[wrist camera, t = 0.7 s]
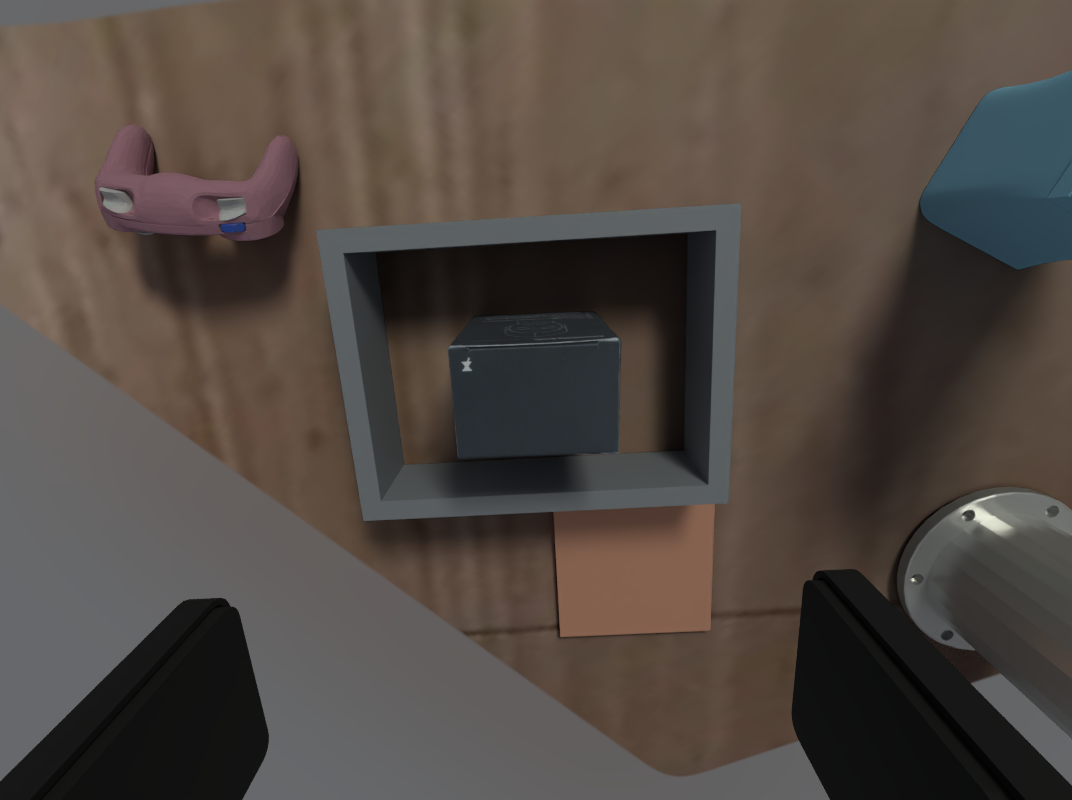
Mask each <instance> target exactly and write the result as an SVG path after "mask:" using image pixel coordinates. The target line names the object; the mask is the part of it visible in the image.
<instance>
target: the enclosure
mask: <svg viewBox="0 0 1072 800" xmlns="http://www.w3.org/2000/svg"><path fill="white" fill-rule="evenodd" d="M741 204H742V203H740V204H724V205H708V206H692V207H676V208H660V209H644V210H628V211H613V212H597V213H581V214H565V215H549V216H533V217H517V218H501V219H485V220H469V221H454V222H438V223H422V224H406V225H390V226H374V227H358V228H342V229H326V230H316V233H317V239H318V245H319V251H320V257H321V263H322V269H323V276H324V282H325V288H326V294H327V300H328V306H329V312H330V319H331V325H332V331H333V337H334V343H335V349H336V355H337V361H338V368H339V374H340V380H341V386H342V392H343V398H344V404H345V411H346V417H347V423H348V429H349V435H350V441H351V447H352V453H353V460H354V466H355V472H356V478H357V484H358V490H359V496H360V503H361V509H362V515H363V521H374V520H394V519H415V518H436V517H456V516H477V515H497V514H518V513H538V512H559V511H579V510H600V509H620V508H641V507H661V506H682V505H703V504H723V503H729V484H730V460H731V437H732V414H733V391H734V367H735V344H736V321H737V298H738V274H739V251H740V228H741ZM685 233H688V240H687V298H686V355H685V413H684V451H665V452H645V453H626V454H606V455H587V456H567V457H548V458H528V459H509V460H489V461H470V462H450V463H431V464H411V465H404V460H403V452H402V445H401V438H400V430H399V423H398V416H397V408H396V401H395V393H394V386H393V379H392V371H391V364H390V357H389V349H388V342H387V335H386V327H385V320H384V312H383V305H382V298H381V290H380V283H379V276H378V268H377V261H376V252H393V251H409V250H425V249H441V248H458V247H474V246H490V245H506V244H523V243H539V242H555V241H571V240H587V239H604V238H620V237H636V236H652V235H669V234H685Z"/></svg>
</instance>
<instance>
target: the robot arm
mask: <svg viewBox="0 0 1072 800" xmlns="http://www.w3.org/2000/svg"><path fill="white" fill-rule="evenodd" d="M897 591H898V595H899V599H900V603H901V605H902V607H903V609H904V610H905V612H906V614H907V616H908V617H909V618H910V619H911V620H912V621H913V622H914V623H915V624H916V625H917V626H918V628H920V629H921V630H922V631H923V632H924V633H925V634H926V635H928V636H929V637H930V638H932V639H934V640H935V641H937V642H939V643H941V644H944V645H947V646H950V647H954V648H957V649H964V650H973V651H974V650H976V651H977V652H978V653H979V654H980V655H982V656H983V657H984V658H985V659H986V660H987V661H988V662H989V663H990V664H991V665H992V666H993V667H995V668H996V669H997V670H998V671H999V672H1000V673H1001V674H1002V675H1003V676H1004V677H1005V678H1007V679H1008V680H1009V681H1010V682H1011V683H1012V684H1013V685H1014V686H1015V687H1016V688H1017V689H1018V690H1019V691H1021V692H1022V693H1023V694H1024V695H1025V696H1026V697H1027V698H1028V699H1029V700H1030V701H1031V702H1033V703H1034V704H1035V705H1036V706H1037V707H1038V708H1039V709H1040V710H1041V711H1042V712H1043V713H1044V714H1045V715H1047V716H1048V717H1049V718H1050V719H1051V720H1052V721H1053V722H1054V723H1055V724H1056V725H1057V726H1059V727H1060V728H1061V729H1062V730H1063V731H1064V732H1065V733H1066V734H1067V735H1068V736H1069V737H1070V738H1072V510H1071V509H1070V508H1068V507H1067V506H1066V505H1065V504H1063V503H1061V502H1059V501H1057V500H1055V499H1053V498H1051V497H1049V496H1047V495H1046V494H1043V493H1040V492H1037V491H1034V490H1031V489H1025V488H1018V487H998V488H990V489H986V490H981V491H976V492H974V493H971V494H968V495H966V496H963V497H961V498H958V499H956V500H955V501H953V502H951V503H949V504H948V505H946V506H944V507H942V508H941V509H940V510H938V511H937V512H936V513H935V514H933V515H932V516H931V517H929V518H928V519H927V520H926V521H925V522H924V523H923V524H922V525H921V527H920V528H919V529H918V530H917V531H916V532H915V533H914V535H913V536H912V538H911V539H910V541H909V543H908V544H907V546H906V548H905V550H904V552H903V555H902V557H901V559H900V563H899V568H898V573H897ZM792 721H793V726H794V729H795V732H796V735H797V737H798V740H799V742H800V743H801V745H802V747H803V749H804V751H805V753H806V755H807V757H808V759H809V760H810V762H811V764H812V766H813V768H814V770H815V772H816V774H817V776H818V777H819V779H820V781H821V783H822V785H823V787H824V789H825V791H826V793H827V794H828V796H829V798H830V800H1072V786H1071V785H1070V784H1069V782H1068V781H1066V779H1065V778H1063V776H1062V775H1061V774H1060V773H1059V772H1058V771H1057V770H1056V769H1055V768H1054V767H1053V766H1052V765H1051V764H1050V763H1049V762H1048V761H1047V760H1046V759H1045V758H1044V757H1043V756H1042V755H1041V754H1039V752H1038V751H1037V750H1036V749H1035V748H1034V747H1033V746H1032V745H1031V744H1030V743H1029V742H1028V741H1027V740H1026V739H1025V738H1024V737H1023V736H1022V735H1021V734H1020V733H1019V732H1018V731H1017V730H1016V729H1015V728H1014V727H1013V726H1012V725H1011V724H1010V723H1009V722H1008V721H1007V720H1006V719H1005V718H1004V717H1003V716H1002V715H1001V714H1000V713H999V712H998V711H997V710H996V709H995V708H994V707H993V706H992V705H991V704H990V703H989V702H988V701H987V700H986V699H985V698H984V697H983V696H982V695H981V694H980V693H979V692H978V691H977V690H976V689H975V688H974V687H973V686H972V685H971V684H970V682H969V681H968V680H967V679H966V678H965V677H964V676H963V675H962V674H961V673H960V672H959V671H958V670H957V669H956V668H955V667H954V666H953V665H952V664H951V663H950V662H949V661H948V660H947V659H946V658H945V657H944V656H943V655H942V654H941V653H940V652H939V651H938V650H937V649H936V648H935V647H934V646H933V645H932V644H931V643H930V642H929V641H928V640H927V639H926V638H925V637H924V636H923V635H922V634H921V633H920V632H919V631H918V630H917V629H916V628H915V627H914V626H913V625H912V624H911V623H910V622H909V621H908V620H907V619H906V618H905V617H904V616H903V615H902V614H901V613H900V612H899V611H898V610H897V609H896V608H895V607H894V606H893V605H892V604H891V603H890V602H889V601H888V600H887V599H886V598H885V597H884V596H883V595H882V594H881V593H880V592H879V591H878V590H877V589H876V588H875V587H874V586H873V585H872V584H871V583H870V582H869V581H868V580H867V579H866V578H865V577H864V576H863V575H862V574H861V573H860V572H859V571H857V570H854V569H844V570H823V571H818V572H816V573H815V575H814V576H813V580H809V581H806V582H805V584H804V587H803V595H802V606H801V617H800V627H799V638H798V649H797V660H796V670H795V681H794V692H793V702H792ZM268 742H269V734H268V729H267V725H266V721H265V717H264V712H263V708H262V704H261V700H260V696H259V692H258V688H257V684H256V680H255V676H254V672H253V668H252V664H251V659H250V655H249V651H248V647H247V643H246V639H245V635H244V631H243V627H242V623H241V619H240V615H239V612H238V610H237V609H236V608H235V607H230V605H229V603H228V602H227V601H226V599H223V598H211V599H189V600H186V601H183V602H182V603H181V604H179V605H178V606H177V607H176V608H175V609H174V610H173V611H172V612H171V613H170V614H169V615H168V616H167V617H166V618H165V619H164V620H163V621H162V622H161V623H160V624H159V625H158V626H157V627H156V628H155V629H154V630H153V631H152V632H151V633H150V634H149V635H148V636H147V637H146V638H145V639H144V640H143V641H142V642H141V643H140V644H139V645H138V646H137V647H136V648H135V649H134V650H133V651H132V652H131V653H130V654H129V655H128V656H127V657H126V658H125V659H124V660H123V661H121V662H120V663H119V664H118V666H116V667H115V668H114V669H113V670H112V672H110V674H108V675H107V676H106V677H105V678H104V679H103V680H102V681H101V682H100V683H99V684H98V685H97V686H96V687H95V688H94V689H93V690H92V691H91V692H90V693H89V694H88V695H87V696H86V697H85V698H84V699H83V700H82V701H81V702H80V703H79V704H78V705H77V706H76V707H75V708H74V709H73V710H72V711H71V712H70V713H69V714H68V715H67V716H66V717H65V718H64V719H63V720H62V721H61V722H60V723H59V724H58V725H57V726H56V727H55V728H54V729H53V730H52V731H51V732H50V733H49V734H48V735H47V736H46V737H45V738H44V739H43V740H42V741H41V742H40V743H39V744H38V745H37V746H36V747H35V748H34V749H33V750H32V751H31V752H30V753H29V754H28V755H27V756H26V757H25V758H24V759H23V760H22V761H21V762H20V763H19V764H18V765H17V766H16V767H15V768H13V769H12V770H11V771H10V772H9V773H8V774H7V775H6V776H5V777H4V778H3V780H2V781H0V800H242V799H243V797H244V795H245V793H246V792H247V790H248V788H249V786H250V784H251V782H252V780H253V779H254V777H255V775H256V773H257V771H258V769H259V767H260V766H261V764H262V762H263V760H264V757H265V755H266V752H267V748H268Z"/></svg>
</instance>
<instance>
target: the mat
mask: <svg viewBox="0 0 1072 800" xmlns="http://www.w3.org/2000/svg"><path fill="white" fill-rule="evenodd" d="M714 510H715V504H703V505H682V506H661V507H641V508H620V509H600V510H579V511H559V512H553V513H554V531H555V550H556V568H557V586H558V604H559V622H560V637H573V636H596V635H619V634H643V633H666V632H690V631H710V624H711V596H712V567H713V539H714Z"/></svg>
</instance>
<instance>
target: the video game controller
mask: <svg viewBox="0 0 1072 800" xmlns="http://www.w3.org/2000/svg"><path fill="white" fill-rule="evenodd" d="M153 169H154V148H153V144H152V141H151V137H150V135H149V134H148V133H147V132H146V131H145V130H144V129H143V128H142V127H140V126H138V125H127V126H124V127H123V128H122V129H120V130H119V131H118V132H117V134H116V135H115V137H114V140H113V142H112V144H111V146H110V149H109V151H108V154H107V157H106V159H105V162H104V164H103V166H102V168H101V170H100V172H99V174H98V176H97V178H96V181H95V191H96V198H97V202H98V206H99V209H100V211H101V213H102V215H103V217H104V219H105V221H106V223H107V225H108V226H109V227H110V228H112V229H114V230H117V231H122V232H137V233H139V234H144V235H151V234H154V233H161V234H171V235H192V236H197V235H221V236H222V237H224V238H227V239H230V240H235V241H251V240H258V239H262V238H266V237H269V236H271V235H274V234H276V233H277V232H279V231H280V230H281V229H282V228H283V226H284V220H283V216H284V214H285V212H286V210H287V208H288V205H289V203H290V200H291V198H292V195H293V193H294V189H295V185H296V181H297V176H298V153H297V150H296V148H295V146H294V144H293V143H292V141H291V140H290V139H289V138H288V137H286V136H283V135H278V136H276V137H275V138H274V139H273V140H272V141H271V142H270V143H269V144H268V146H267V149H266V151H265V153H264V156H263V158H262V160H261V162H260V165H259V166H258V168H257V170H256V171H255V173H254V175H253V176H252V177H251V178H250V179H248V180H246V181H226V180H203V179H200V178H196V177H193V176H189V175H185V174H181V173H171V172H164V173H157V174H153Z"/></svg>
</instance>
